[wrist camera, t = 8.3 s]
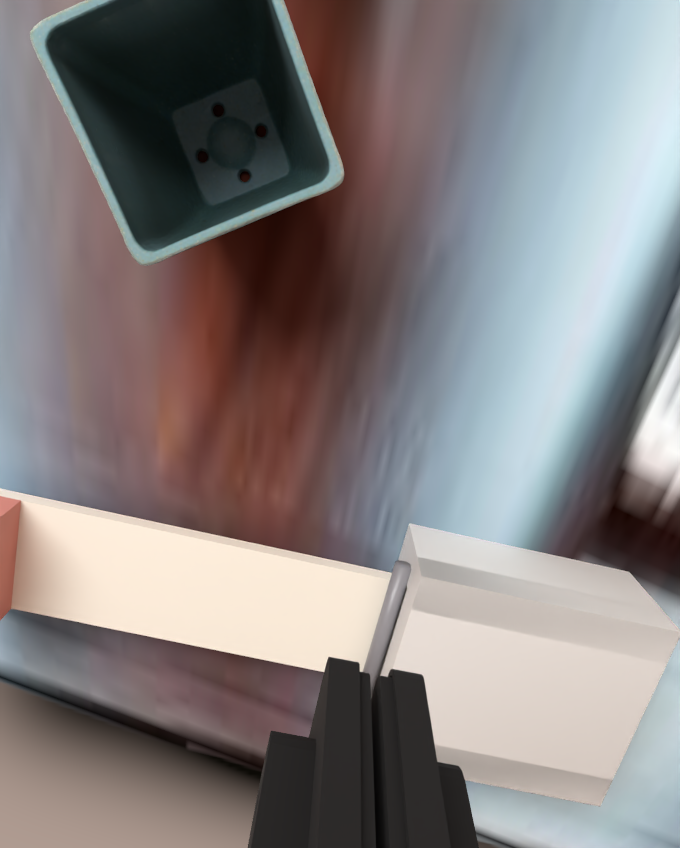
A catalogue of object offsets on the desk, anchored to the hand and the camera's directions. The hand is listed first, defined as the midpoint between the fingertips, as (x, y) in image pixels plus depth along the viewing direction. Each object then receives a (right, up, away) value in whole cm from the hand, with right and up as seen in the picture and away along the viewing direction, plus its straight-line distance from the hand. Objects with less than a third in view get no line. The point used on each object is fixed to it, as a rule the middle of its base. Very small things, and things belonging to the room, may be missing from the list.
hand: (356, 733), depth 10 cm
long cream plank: (-9, -4, +25) cm, 27 cm away
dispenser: (+9, -8, +28) cm, 30 cm away
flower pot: (-6, +19, +20) cm, 28 cm away
